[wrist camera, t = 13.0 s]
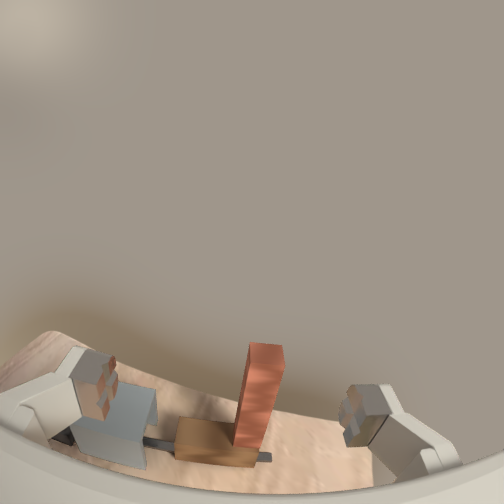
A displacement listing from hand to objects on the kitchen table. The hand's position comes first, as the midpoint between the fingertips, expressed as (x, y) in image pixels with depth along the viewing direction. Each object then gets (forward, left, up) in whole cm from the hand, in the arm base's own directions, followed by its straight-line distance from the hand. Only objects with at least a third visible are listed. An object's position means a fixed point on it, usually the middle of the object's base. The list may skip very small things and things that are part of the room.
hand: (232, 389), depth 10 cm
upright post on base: (+1, +16, -29) cm, 33 cm away
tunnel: (-12, +16, -29) cm, 36 cm away
